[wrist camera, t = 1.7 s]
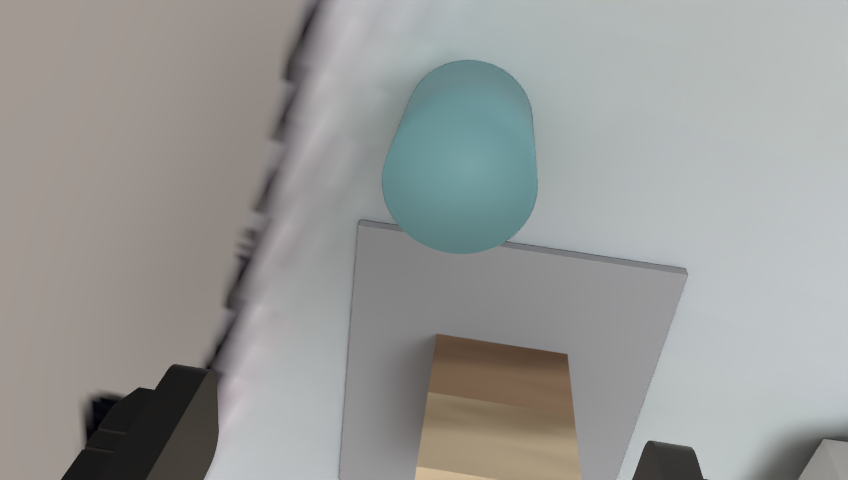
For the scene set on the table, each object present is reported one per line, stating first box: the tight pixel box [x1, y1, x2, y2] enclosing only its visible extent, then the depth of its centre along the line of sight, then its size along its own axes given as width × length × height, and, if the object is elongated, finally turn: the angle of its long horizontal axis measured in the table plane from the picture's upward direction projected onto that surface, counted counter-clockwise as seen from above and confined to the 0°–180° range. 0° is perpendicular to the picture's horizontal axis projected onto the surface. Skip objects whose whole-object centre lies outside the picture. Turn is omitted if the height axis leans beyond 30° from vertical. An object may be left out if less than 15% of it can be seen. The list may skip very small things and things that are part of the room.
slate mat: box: [339, 220, 688, 480], centre depth 34 cm, size 16×14×1 cm
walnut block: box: [428, 334, 574, 415], centre depth 32 cm, size 6×6×4 cm
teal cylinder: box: [382, 60, 537, 254], centre depth 25 cm, size 5×5×6 cm
